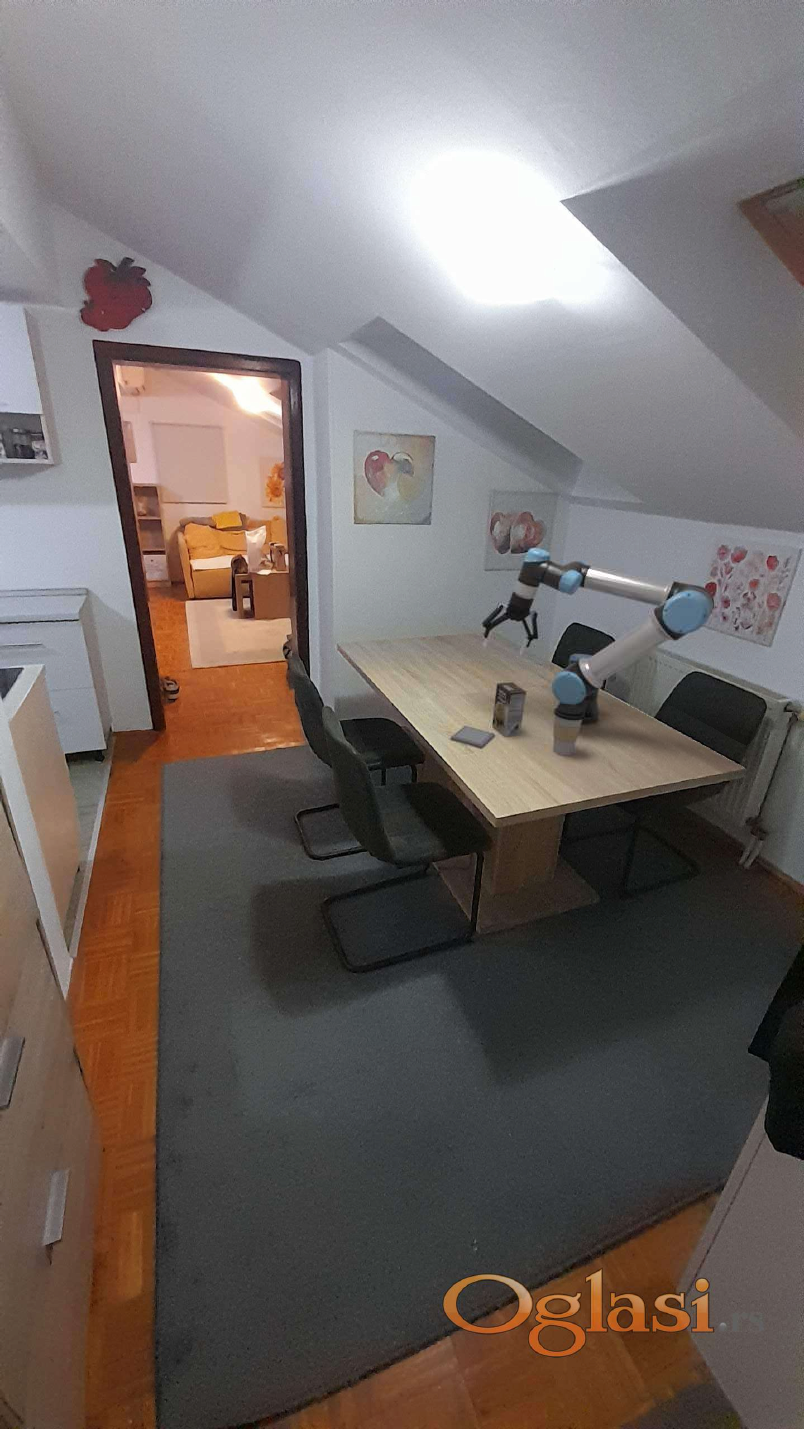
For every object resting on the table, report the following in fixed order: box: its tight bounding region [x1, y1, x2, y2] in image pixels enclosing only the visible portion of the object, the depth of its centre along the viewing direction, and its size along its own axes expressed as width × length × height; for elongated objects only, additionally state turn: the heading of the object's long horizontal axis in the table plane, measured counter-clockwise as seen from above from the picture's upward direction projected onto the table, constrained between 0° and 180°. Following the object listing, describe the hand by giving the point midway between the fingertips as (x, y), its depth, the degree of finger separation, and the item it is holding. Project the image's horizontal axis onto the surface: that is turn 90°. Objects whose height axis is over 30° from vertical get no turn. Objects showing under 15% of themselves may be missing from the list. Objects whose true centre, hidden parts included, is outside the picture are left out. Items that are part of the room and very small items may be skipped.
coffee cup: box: [552, 704, 585, 756], centre depth 185 cm, size 9×9×15 cm
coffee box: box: [491, 681, 527, 738], centre depth 198 cm, size 9×6×16 cm
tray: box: [450, 725, 495, 749], centre depth 194 cm, size 11×11×1 cm
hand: (502, 650), depth 208 cm, fingers open, 13 cm apart
